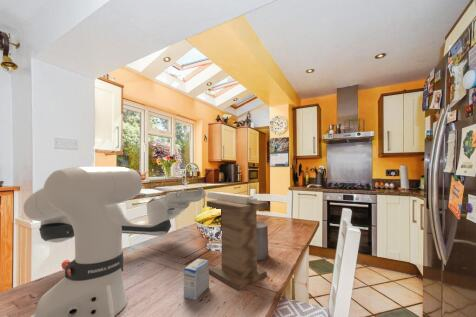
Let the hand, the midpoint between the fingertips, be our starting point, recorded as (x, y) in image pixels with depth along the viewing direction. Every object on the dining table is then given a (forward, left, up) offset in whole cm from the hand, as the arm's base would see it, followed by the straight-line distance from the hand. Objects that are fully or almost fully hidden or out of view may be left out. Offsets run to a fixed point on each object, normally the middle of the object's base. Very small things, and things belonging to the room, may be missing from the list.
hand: (193, 189), depth 104 cm
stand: (0, -30, -28) cm, 41 cm away
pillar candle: (+17, -24, -29) cm, 41 cm away
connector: (0, -26, -2) cm, 26 cm away
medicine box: (-17, -30, -29) cm, 45 cm away
